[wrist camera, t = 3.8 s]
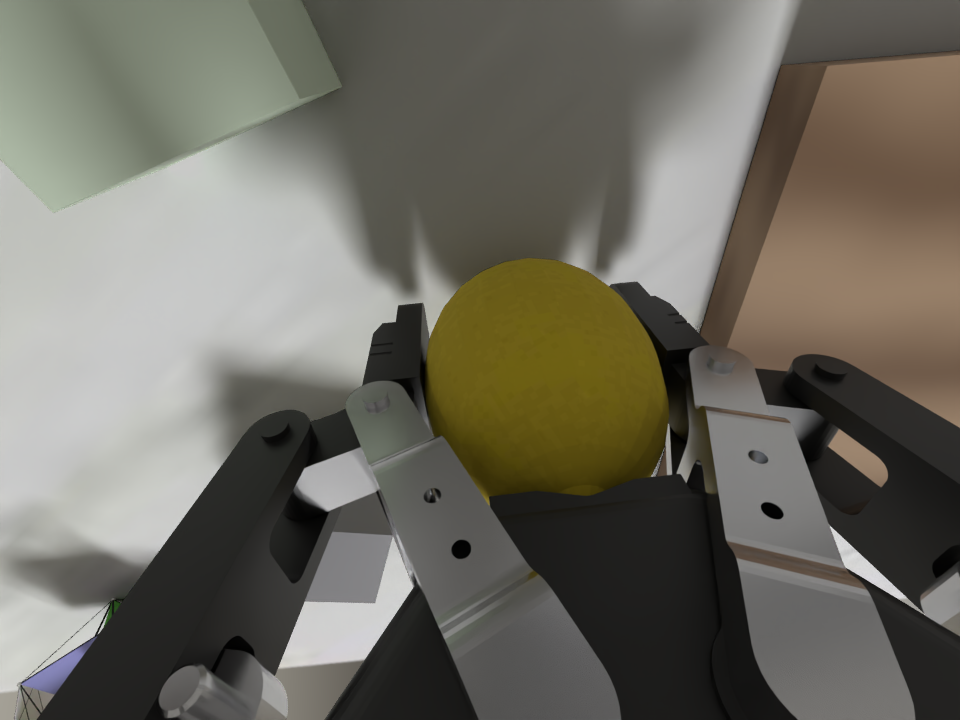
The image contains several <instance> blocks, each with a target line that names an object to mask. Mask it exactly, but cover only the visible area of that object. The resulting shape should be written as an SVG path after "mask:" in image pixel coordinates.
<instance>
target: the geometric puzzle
mask: <svg viewBox="0 0 960 720" xmlns="http://www.w3.org/2000/svg"><path fill="white" fill-rule="evenodd" d="M117 600H124V599H117ZM109 603H110V602H109ZM109 603H108V604H109ZM108 604H107V605H108ZM120 604H121V603H120V602H118V601H116V600H115V598H112V599H111V603H110V605H109V607H108V609H107V611H106V613H105V616H104V618H103V620H102V622H101V624H100V626H99V628H98V630H97V632H96V634H95V636H94V637H93V638H91V639H90V640H88V641H87V642H85V643H83V644H82V645H80V646H79V647H77V648H76V649H74V650H72V651H71V652H69V653H68V654H66V655H64V656H63V657H61V658H60V659H58V660H57V661H55V662H53V663H52V664H50V665H49V666H47V667H45V668H44V669H42V670H41V671H39V672H37V673H36V674H34V675H33V676H31V677H30V678H28V677H29V676H30V675H31V674H32V673H33V672H34V671H33V672H32V673H31V674H30V675H29V676H28V677H27V678H28V679H26V680H25V681H22V682H19V683H18V684H17V686H18V687H19V690H18V697H17V704H16V710H15V716H14V720H37V718H38V717H39V715H40V714H41V713H42V711H43V710H44V709H45V707H46V706H47V705H48V703H49V702H50V700H51V699H52V698H53V696H54V695H55V694H56V692H57V691H58V689H59V688H60V687H61V685H62V684H63V683H64V681H65V680H66V678H67V677H68V676H69V674H70V673H71V672H72V670H73V669H74V667H75V666H76V665H77V663H78V662H79V661H80V659H81V658H82V657H83V655H84V654H85V652H86V651H87V650H88V648H89V647H90V646H91V644H92V643H93V641H94V640H95V639H96V637H97V636H98V635H99V634H98V632H99V630H100V628H101V625H102V623H103V621H104V619H105V617H106V615H107V613H108V616H107V619H106V622H105V625H106V624H107V622H108V621H109V620H110V618H111V617H112V615H113V614H114V613H115V611H116V610H117V609H118V607H119V606H120ZM107 605H106V606H107ZM106 606H105V607H106ZM105 607H104V608H105ZM108 611H109V612H108ZM98 613H99V612H98ZM98 613H97V614H98ZM97 614H96V615H97ZM96 615H95V616H96ZM95 616H94V617H95ZM94 617H93V618H94ZM87 623H88V622H87ZM87 623H86V624H87ZM86 624H85V625H86ZM85 625H84V626H85ZM105 625H104V626H105ZM84 626H83V627H84ZM83 627H82V628H83ZM77 632H78V631H77ZM77 632H76V633H77ZM76 633H75V634H76ZM75 634H74V635H75ZM97 634H98V635H97ZM74 635H73V636H74ZM73 636H72V637H73ZM72 637H71V638H72ZM66 642H67V641H66ZM66 642H65V643H66ZM65 643H64V644H65ZM64 644H63V645H64ZM63 645H62V646H63ZM62 646H61V647H62ZM61 647H60V648H61ZM55 652H56V651H55ZM55 652H54V653H55ZM54 653H53V654H54ZM53 654H52V655H53ZM52 655H51V656H52ZM51 656H50V657H51ZM50 657H49V658H50ZM44 662H45V661H44ZM44 662H43V663H44ZM43 663H42V664H43ZM42 664H41V665H42ZM41 665H40V666H41ZM40 666H39V667H40ZM39 667H38V668H39Z"/></svg>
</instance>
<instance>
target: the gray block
mask: <svg viewBox="0 0 960 720" xmlns="http://www.w3.org/2000/svg"><path fill="white" fill-rule="evenodd" d="M392 537H393V534H392V532H391V529H390V527H389V524H388V522H387V520H386V517H385V515H384V512H383V510H382V507H381V505H380V502H379V500H378V497H377V495H376V492H374V493H372V494H369V495H367V496H364V497H362V498H359V499H357V500H355V501H352V502H350V503H347V504H345V505H343V506H342V509H341V512H340V514H339V517H338V519H337V522H336V524H335V527H334V529H333V532H332V534H331V537H330V539H329V542H328V544H327V547H326V549H325V552H324V554H323V557H322V559H321V562H320V564H319V567H318V569H317V572H316V574H315V577H314V579H313V582H312V584H311V587H310V589H309V592H308V594H307V597H306V599H305V601H309V602H348V603H375V601H376V597H377V593H378V590H379V586H380V582H381V578H382V574H383V571H384V567H385V563H386V559H387V556H388V552H389V548H390V544H391V540H392Z"/></svg>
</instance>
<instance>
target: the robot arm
mask: <svg viewBox="0 0 960 720" xmlns="http://www.w3.org/2000/svg"><path fill="white" fill-rule="evenodd" d="M609 287H610V288H612V289H613V290H614V291H615V292H616V293H618V294H619V295H620V296H621V297H622V298H623V299H624V301H625V302H626V303H627V304H628V306H629V307H630V308H631V310H632V311H633V313H634V314H635V316H636V317H637V318H638V320H639V321H640V323H641V324H642V326H643V327H644V329H645V330H646V332H647V333H648V335H649V337H650V339H651V341H652V343H653V346H654V348H655V351H656V353H657V357H658V360H659V363H660V367H661V371H662V375H663V378H664V382H665V386H666V391H667V396H668V403H669V419H668V423H669V425H668V428H667V436H666V461H667V475H664V476H656V477H647V478H639V479H633V480H630V481H628V482H625V483H623V484H620V485H617V486H615V487H612V488H610V489H607V490H605V491H602V492H599V493H597V494H594V495H590V496H582V495H572V494H563V493H553V492H544V491H530V492H522V493H514V494H505V495H497V496H489V504H490V506H489V505H488V503H487V502H486V500H485V499H484V497H483V495H482V494H481V492H480V491H479V489H478V488H477V486H476V485H475V483H474V482H473V480H472V479H471V477H470V476H469V474H468V473H467V471H466V470H465V468H464V467H463V465H462V464H461V462H460V461H459V459H458V457H457V456H456V454H455V453H454V451H453V450H452V448H451V447H450V445H449V444H448V442H447V441H446V440H445V438H444V437H443V436H441V435H439V436H437V437H434V435H433V432H432V428H431V424H430V419H429V414H428V409H427V405H426V399H425V391H424V372H425V363H426V356H427V348H428V343H429V339H430V338H429V332H428V326H427V320H426V314H425V308H424V304H423V303H416V304H406V305H398V310H397V317H396V322H392V323H382V325H381V326H380V327H379V328H378V329H377V330H376V331H375V332H374V334H373V337H372V342H371V347H370V351H369V356H368V361H367V366H366V370H365V375H364V380H363V385H362V386H361V387H359V388H358V389H356V390H355V391H354V392H353V393H352V394H351V395H350V396H349V397H348V399H347V401H346V408H345V409H344V410H342V411H340V412H338V413H336V414H333V415H330V416H327V417H324V418H321V419H318V420H315V421H313V422H310V420H309V418H308V417H307V415H305V414H304V413H302V412H300V411H296V410H285V411H279V412H276V413H273V414H270V415H268V416H266V417H264V418H262V419H260V420H259V421H257V422H256V423H255V424H253V425H252V426H251V427H250V428H249V429H248V431H247V432H246V433H245V434H244V436H243V437H242V439H241V440H240V441H239V443H238V444H237V445H236V447H235V448H234V449H233V451H232V452H231V454H230V455H229V456H228V458H227V459H226V460H225V462H224V463H223V465H222V466H221V467H220V469H219V470H218V471H217V473H216V474H215V476H214V477H213V478H212V480H211V481H210V482H209V484H208V485H207V487H206V488H205V489H204V491H203V492H202V493H201V495H200V496H199V497H198V499H197V500H196V502H195V503H194V504H193V506H192V507H191V508H190V510H189V511H188V513H187V514H186V515H185V517H184V518H183V519H182V521H181V522H180V524H179V525H178V526H177V528H176V529H175V530H174V532H173V533H172V534H171V536H170V537H169V539H168V540H167V541H166V543H165V544H164V545H163V547H162V548H161V550H160V551H159V552H158V554H157V555H156V556H155V558H154V559H153V561H152V562H151V563H150V565H149V566H148V567H147V569H146V570H145V572H144V573H143V574H142V576H141V577H140V578H139V580H138V581H137V582H136V584H135V585H134V587H133V588H132V589H131V591H130V592H129V593H128V595H127V596H126V598H125V599H124V600H123V602H122V603H121V604H120V606H119V607H118V609H117V610H116V611H115V613H114V614H113V615H112V617H111V618H110V620H109V621H108V622H107V624H106V625H105V626H104V628H103V629H102V630H101V632H100V633H99V635H98V636H97V637H96V639H95V640H94V641H93V643H92V644H91V646H90V647H89V648H88V650H87V651H86V652H85V654H84V655H83V657H82V658H81V659H80V661H79V662H78V663H77V665H76V666H75V667H74V669H73V670H72V672H71V673H70V674H69V676H68V677H67V678H66V680H65V681H64V683H63V684H62V685H61V687H60V688H59V689H58V691H57V692H56V694H55V695H54V696H53V698H52V699H51V700H50V702H49V703H48V705H47V706H46V707H45V709H44V710H43V711H42V713H41V714H40V715H39V717H38V718H37V720H286V719H287V711H288V700H287V695H286V692H285V689H284V687H283V685H282V684H281V682H280V681H279V680H278V679H277V678H276V677H275V674H276V672H277V669H278V667H279V664H280V662H281V659H282V657H283V654H284V652H285V649H286V647H287V644H288V642H289V639H290V637H291V634H292V632H293V629H294V627H295V624H296V622H297V619H298V617H299V614H300V612H301V609H302V607H303V604H304V602H305V599H306V597H307V594H308V592H309V589H310V587H311V584H312V582H313V579H314V577H315V574H316V572H317V569H318V567H319V564H320V562H321V559H322V557H323V554H324V552H325V549H326V547H327V544H328V542H329V539H330V537H331V534H332V532H333V529H334V527H335V524H336V522H337V519H338V517H339V514H340V512H341V509H342V506H343V505H345V504H347V503H350V502H352V501H355V500H357V499H359V498H362V497H364V496H367V495H369V494H372V493H374V492H376V495H377V497H378V500H379V502H380V505H381V507H382V510H383V512H384V515H385V517H386V520H387V522H388V524H389V527H390V529H391V532H392V534H393V537H394V539H395V542H396V544H397V547H398V549H399V552H400V555H401V557H402V560H403V563H404V565H405V568H406V570H407V573H408V576H409V578H410V581H411V583H412V586H413V589H412V591H411V592H410V594H409V595H408V597H407V598H406V600H405V601H404V603H403V604H402V606H401V607H400V609H399V610H398V611H397V613H396V614H395V616H394V617H393V619H392V620H391V622H390V623H389V625H388V626H387V628H386V629H385V631H384V632H383V634H382V635H381V637H380V638H379V640H378V641H377V643H376V644H375V646H374V647H373V649H372V650H371V652H370V653H369V654H368V656H367V657H366V659H365V660H364V662H363V663H362V665H361V666H360V668H359V669H358V671H357V672H356V674H355V675H354V677H353V678H352V680H351V681H350V683H349V684H348V686H347V687H346V689H345V690H344V692H343V693H342V694H341V696H340V697H339V699H338V700H337V702H336V703H335V705H334V706H333V708H332V709H331V711H330V712H329V714H328V715H327V717H326V718H325V720H960V428H959V427H958V426H956V425H954V424H953V423H951V422H949V421H947V420H946V419H944V418H942V417H941V416H939V415H937V414H935V413H934V412H932V411H930V410H929V409H927V408H925V407H924V406H922V405H920V404H918V403H917V402H915V401H913V400H912V399H910V398H908V397H906V396H905V395H903V394H901V393H900V392H898V391H896V390H894V389H893V388H891V387H889V386H888V385H886V384H884V383H882V382H881V381H879V380H877V379H876V378H874V377H872V376H870V375H869V374H867V373H865V372H864V371H862V370H860V369H858V368H857V367H855V366H853V365H851V364H849V363H848V362H845V361H843V360H840V359H837V358H834V357H830V356H826V355H819V354H805V355H800V356H798V357H796V358H795V359H794V360H793V361H792V364H791V366H790V368H789V370H788V371H779V370H768V369H758V368H755V367H754V365H753V363H752V362H751V360H750V359H749V358H747V357H746V356H745V355H743V354H742V353H740V352H738V351H735V350H733V349H730V348H726V347H722V346H714V345H710V344H709V343H708V342H707V341H706V340H705V339H704V338H703V337H702V336H701V335H700V334H699V333H698V332H697V331H696V330H695V329H694V328H693V327H692V326H691V325H690V324H689V323H687V321H686V320H685V319H684V318H683V316H682V315H679V312H678V311H677V310H676V309H675V308H674V307H673V306H672V305H671V304H670V303H668V302H666V301H664V300H662V299H660V298H658V297H656V296H650V295H649V294H648V293H647V292H646V290H645V289H644V288H643V287H642V286H641V285H640V284H639V283H638V282H627V283H617V284H611V285H610V286H609ZM839 429H840V430H841V431H843V432H844V433H846V434H847V435H848V436H850V437H851V438H852V439H854V440H855V441H857V442H858V443H859V444H861V445H862V446H863V447H865V448H866V449H868V450H869V451H870V452H872V453H873V454H874V455H876V456H877V457H878V458H879V459H880V460H881V461H882V462H883V463H884V465H885V466H886V469H887V472H888V478H887V481H886V482H885V483H884V485H883V486H882V487H880V486H878V485H877V484H876V483H874V482H873V481H872V480H871V479H869V478H868V477H867V476H865V475H864V474H863V473H862V472H860V471H859V470H858V469H856V468H855V467H854V466H853V465H851V464H850V463H849V462H847V461H846V460H845V459H844V458H842V457H841V456H840V455H838V454H837V453H836V452H835V451H833V450H832V449H831V448H829V447H828V445H829V444H830V442H831V441H832V439H833V438H834V436H835V435H836V433H837V432H838V430H839ZM829 525H830V526H831V527H832V528H833V529H834V530H835V531H837V532H838V533H839V534H840V535H841V536H842V537H843V538H844V539H845V540H846V541H847V542H848V543H849V544H850V545H851V546H853V547H854V548H855V549H856V550H857V551H858V552H859V553H860V554H861V555H862V556H863V557H864V558H865V559H866V560H868V561H869V562H870V563H871V564H872V565H873V566H874V567H875V568H876V569H877V570H878V571H879V572H880V573H881V574H882V575H884V576H885V577H886V578H887V579H888V580H889V581H890V582H891V583H892V584H893V585H894V586H895V587H896V588H897V589H898V590H900V591H901V592H902V593H903V594H904V595H905V596H906V597H907V598H908V599H909V600H910V601H911V602H912V603H913V604H914V605H916V606H917V607H918V608H919V609H920V610H921V611H922V612H923V613H924V614H925V615H924V614H922V613H920V612H919V611H917V610H915V609H914V608H912V607H910V606H909V605H907V604H905V603H903V602H902V601H900V600H899V599H897V598H895V597H894V596H892V595H890V594H889V593H887V592H885V591H884V590H882V589H880V588H879V587H877V586H875V585H874V584H872V583H870V582H869V581H867V580H865V579H864V578H862V577H860V576H859V575H857V574H855V573H854V572H852V571H850V570H849V569H847V568H845V566H844V564H843V561H842V559H841V556H840V553H839V551H838V548H837V545H836V542H835V540H834V537H833V534H832V532H831V529H830V526H829Z"/></svg>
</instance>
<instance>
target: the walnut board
mask: <svg viewBox="0 0 960 720" xmlns="http://www.w3.org/2000/svg"><path fill="white" fill-rule="evenodd" d="M700 335H701V336H702V337H703V338H704V339H705V340H706V341H707V342H708V343H709V344H710V345H714V346H722V347H726V348H730V349H733V350H735V351H738V352H740V353H742V354H743V355H745V356H746V357H747V358H749V359H750V360H751V362H752V363H753V365H754V367H755V368H758V369H768V370H779V371H788V370H789V368H790V366H791V364H792V361H793V360H794V359H795V358H796V357H798V356H800V355H805V354H819V355H826V356H830V357H834V358H837V359H840V360H843V361H845V362H848V363H849V364H851V365H853V366H855V367H857V368H858V369H860V370H862V371H864V372H865V373H867V374H869V375H870V376H872V377H874V378H876V379H877V380H879V381H881V382H882V383H884V384H886V385H888V386H889V387H891V388H893V389H894V390H896V391H898V392H900V393H901V394H903V395H905V396H906V397H908V398H910V399H912V400H913V401H915V402H917V403H918V404H920V405H922V406H924V407H925V408H927V409H929V410H930V411H932V412H934V413H935V414H937V415H939V416H941V417H942V418H944V419H946V420H947V421H949V422H951V423H953V424H954V425H956V426H958V427H959V428H960V50H959V51H947V52H935V53H922V54H910V55H898V56H886V57H874V58H862V59H850V60H838V61H826V62H814V63H802V64H790V65H781V68H780V71H779V74H778V78H777V81H776V84H775V88H774V91H773V94H772V98H771V101H770V104H769V107H768V111H767V114H766V117H765V121H764V124H763V127H762V131H761V134H760V137H759V140H758V144H757V147H756V150H755V154H754V157H753V160H752V164H751V167H750V170H749V174H748V177H747V180H746V183H745V187H744V190H743V193H742V197H741V200H740V203H739V207H738V210H737V213H736V216H735V220H734V223H733V226H732V230H731V233H730V236H729V240H728V243H727V246H726V250H725V253H724V256H723V259H722V263H721V266H720V269H719V273H718V276H717V279H716V283H715V286H714V289H713V293H712V296H711V299H710V302H709V306H708V309H707V312H706V316H705V319H704V322H703V326H702V329H701V332H700ZM828 447H829V448H831V449H832V450H833V451H835V452H836V453H837V454H838V455H840V456H841V457H842V458H844V459H845V460H846V461H847V462H849V463H850V464H851V465H853V466H854V467H855V468H856V469H858V470H859V471H860V472H862V473H863V474H864V475H865V476H867V477H868V478H869V479H871V480H872V481H873V482H874V483H876V484H877V485H878V486H880V487H882V486H883V485H884V483H885V482H886V481H887V478H888V472H887V469H886V466H885V465H884V463H883V462H882V461H881V460H880V459H879V458H878V457H877V456H876V455H874V454H873V453H872V452H870V451H869V450H868V449H866V448H865V447H863V446H862V445H861V444H859V443H858V442H857V441H855V440H854V439H852V438H851V437H850V436H848V435H847V434H846V433H844V432H843V431H841V430H840V429H839V430H838V432H837V433H836V435H835V436H834V438H833V439H832V441H831V442H830V444H829V445H828ZM664 475H667V461H666V448H665V451H664V454H663V458H662V461H661V464H660V468H659V471H658V474H657V476H664Z"/></svg>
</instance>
